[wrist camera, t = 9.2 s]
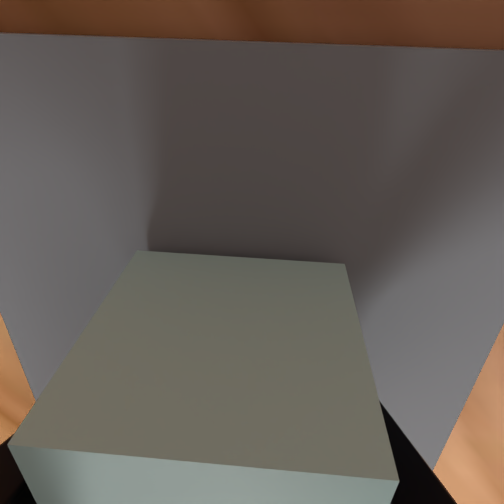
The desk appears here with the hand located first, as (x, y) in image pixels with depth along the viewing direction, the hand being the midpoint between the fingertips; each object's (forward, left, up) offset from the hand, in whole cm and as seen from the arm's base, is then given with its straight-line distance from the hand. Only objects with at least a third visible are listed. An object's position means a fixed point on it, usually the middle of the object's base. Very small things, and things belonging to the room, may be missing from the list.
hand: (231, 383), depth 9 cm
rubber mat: (0, 0, -3) cm, 3 cm away
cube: (0, 0, -2) cm, 2 cm away
